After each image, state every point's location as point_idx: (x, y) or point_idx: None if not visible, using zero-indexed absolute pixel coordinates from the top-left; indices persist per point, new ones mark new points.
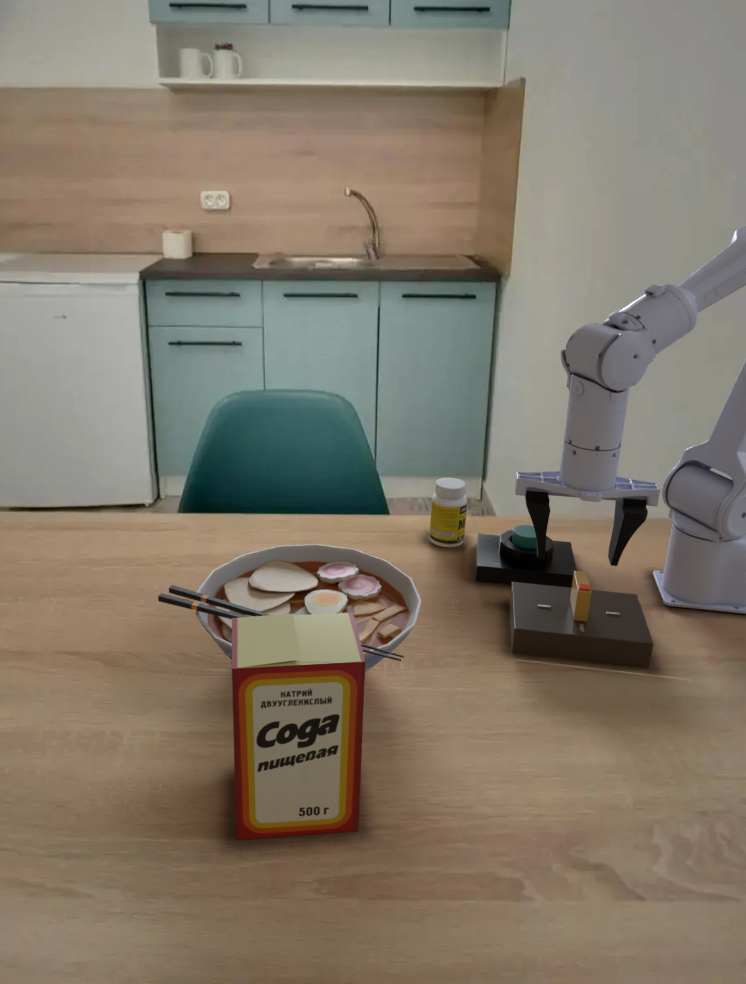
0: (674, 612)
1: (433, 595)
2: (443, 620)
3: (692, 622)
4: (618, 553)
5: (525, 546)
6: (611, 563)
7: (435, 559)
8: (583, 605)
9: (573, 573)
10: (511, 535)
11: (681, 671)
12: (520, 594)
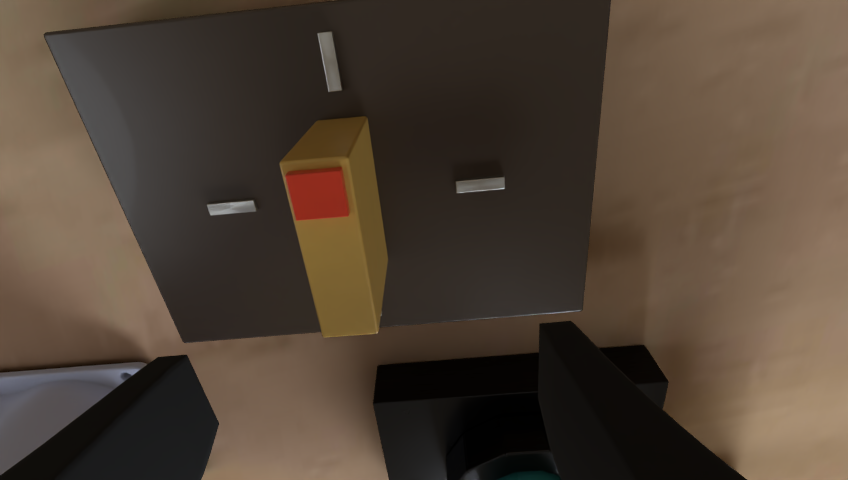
0: (122, 342)
1: (784, 251)
2: (785, 121)
3: (68, 311)
4: (97, 412)
5: (533, 477)
6: (177, 362)
7: (736, 410)
8: (324, 136)
9: (385, 410)
10: None
11: (17, 44)
12: (561, 241)
